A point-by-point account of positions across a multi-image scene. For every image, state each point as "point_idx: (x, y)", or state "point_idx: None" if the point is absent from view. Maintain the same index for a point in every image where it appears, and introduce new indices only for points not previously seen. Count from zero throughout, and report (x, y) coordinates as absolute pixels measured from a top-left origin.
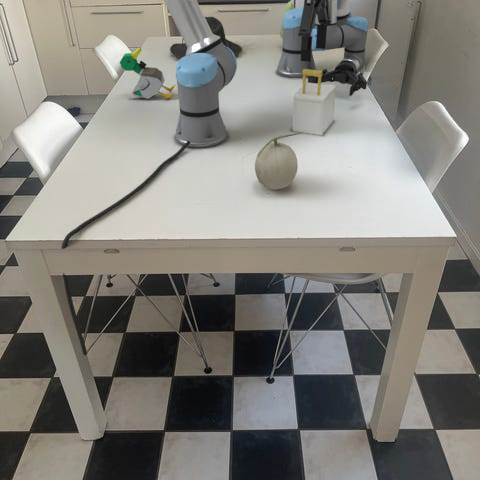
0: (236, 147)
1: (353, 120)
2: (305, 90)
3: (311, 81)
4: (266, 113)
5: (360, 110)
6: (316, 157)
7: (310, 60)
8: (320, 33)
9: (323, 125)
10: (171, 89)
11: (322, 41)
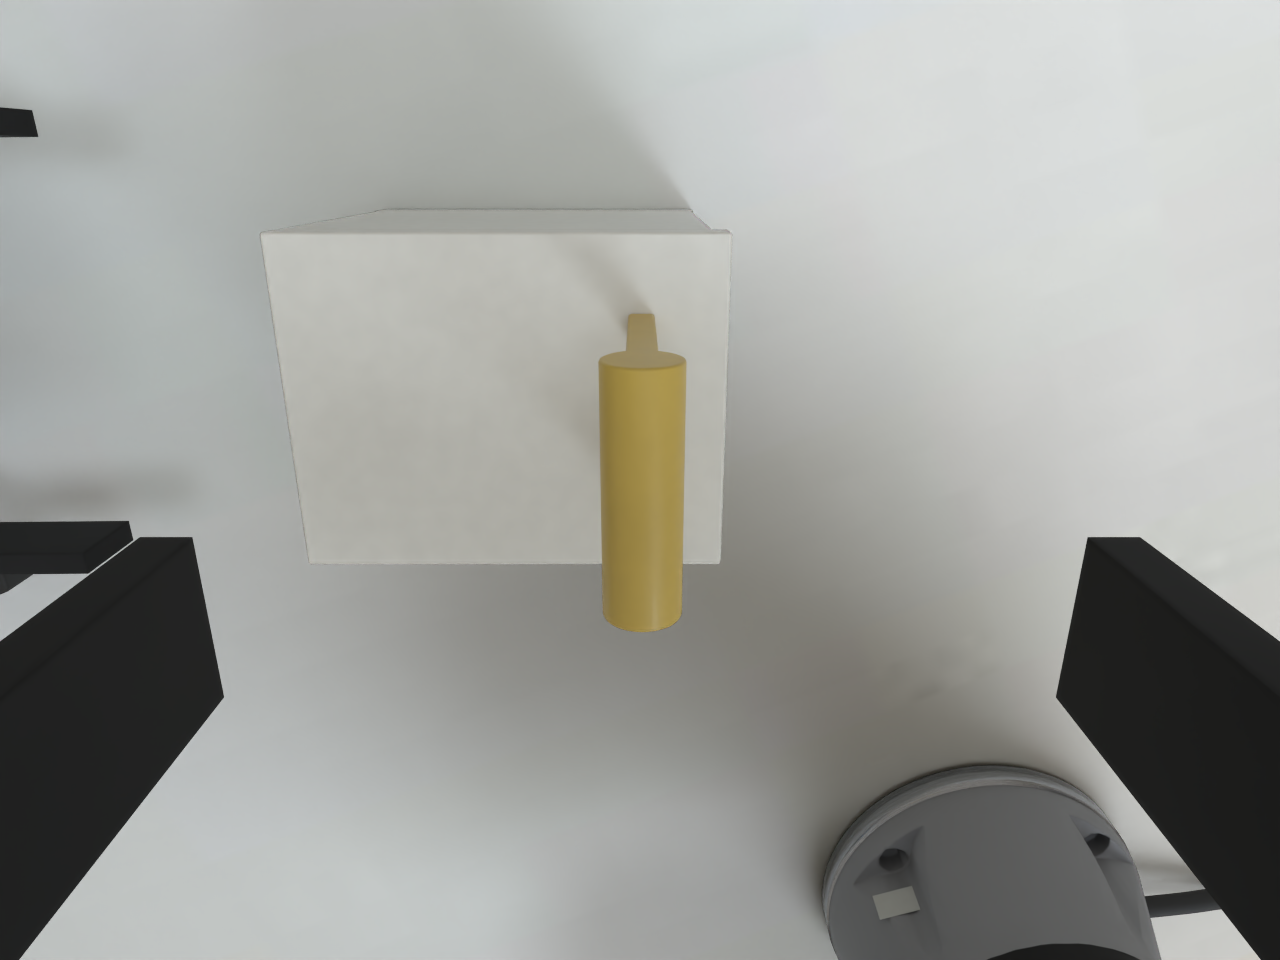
0: (1054, 669)
1: (274, 38)
2: (550, 498)
3: (46, 565)
4: (462, 703)
5: (15, 38)
6: (1093, 122)
7: (1127, 545)
8: (19, 844)
9: (665, 213)
10: None
11: (120, 667)
